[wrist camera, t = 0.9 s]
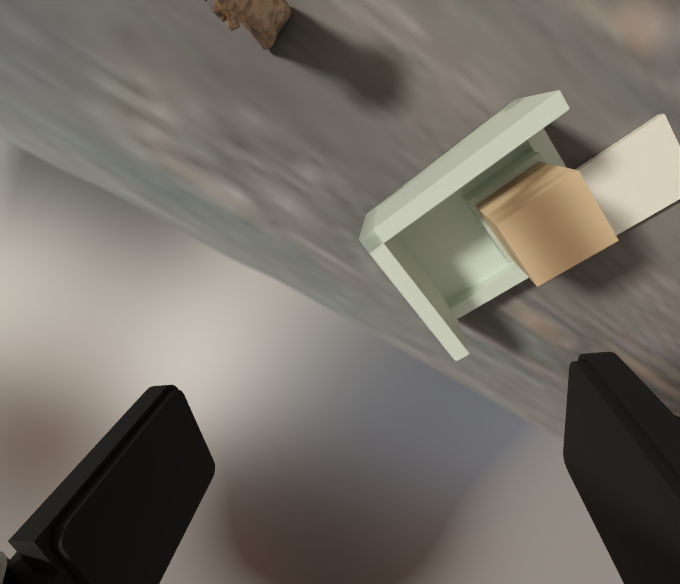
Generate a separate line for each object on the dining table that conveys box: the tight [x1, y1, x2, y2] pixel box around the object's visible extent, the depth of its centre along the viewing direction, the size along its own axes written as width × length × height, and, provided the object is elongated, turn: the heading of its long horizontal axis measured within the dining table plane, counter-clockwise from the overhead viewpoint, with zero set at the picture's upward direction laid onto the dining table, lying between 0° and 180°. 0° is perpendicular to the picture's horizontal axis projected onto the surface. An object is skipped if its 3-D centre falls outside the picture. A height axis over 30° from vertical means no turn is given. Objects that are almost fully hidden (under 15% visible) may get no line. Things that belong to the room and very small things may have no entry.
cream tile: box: [575, 114, 680, 235], centre depth 28 cm, size 6×6×1 cm
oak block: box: [475, 161, 619, 287], centre depth 24 cm, size 5×5×6 cm
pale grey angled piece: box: [359, 90, 570, 361], centre depth 28 cm, size 14×12×8 cm
